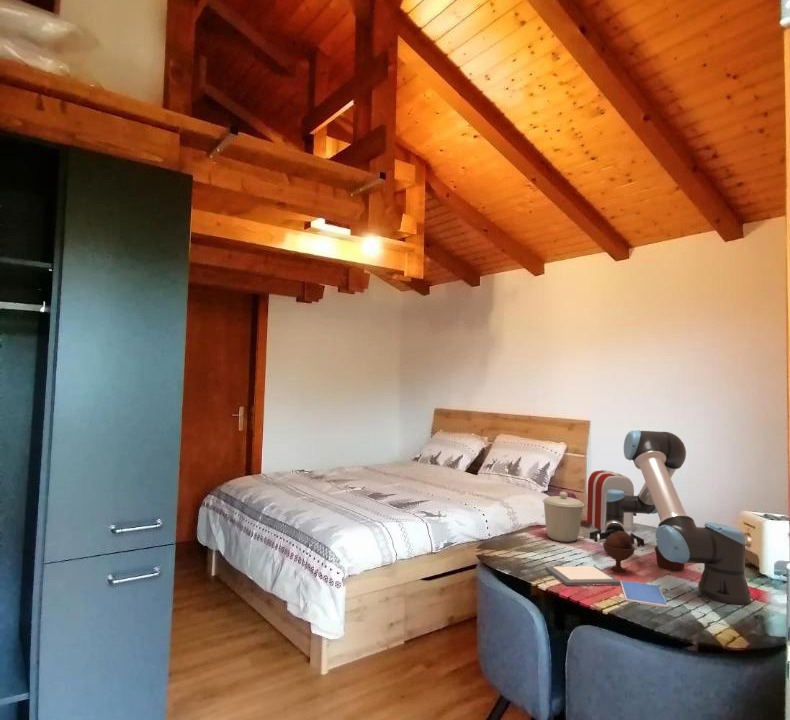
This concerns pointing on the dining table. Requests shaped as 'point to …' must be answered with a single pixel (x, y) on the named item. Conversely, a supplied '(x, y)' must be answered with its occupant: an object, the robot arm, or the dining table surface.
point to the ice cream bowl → (619, 549)
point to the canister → (563, 517)
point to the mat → (568, 582)
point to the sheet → (582, 573)
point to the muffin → (667, 562)
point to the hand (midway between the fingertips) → (617, 544)
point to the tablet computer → (643, 594)
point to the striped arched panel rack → (597, 497)
